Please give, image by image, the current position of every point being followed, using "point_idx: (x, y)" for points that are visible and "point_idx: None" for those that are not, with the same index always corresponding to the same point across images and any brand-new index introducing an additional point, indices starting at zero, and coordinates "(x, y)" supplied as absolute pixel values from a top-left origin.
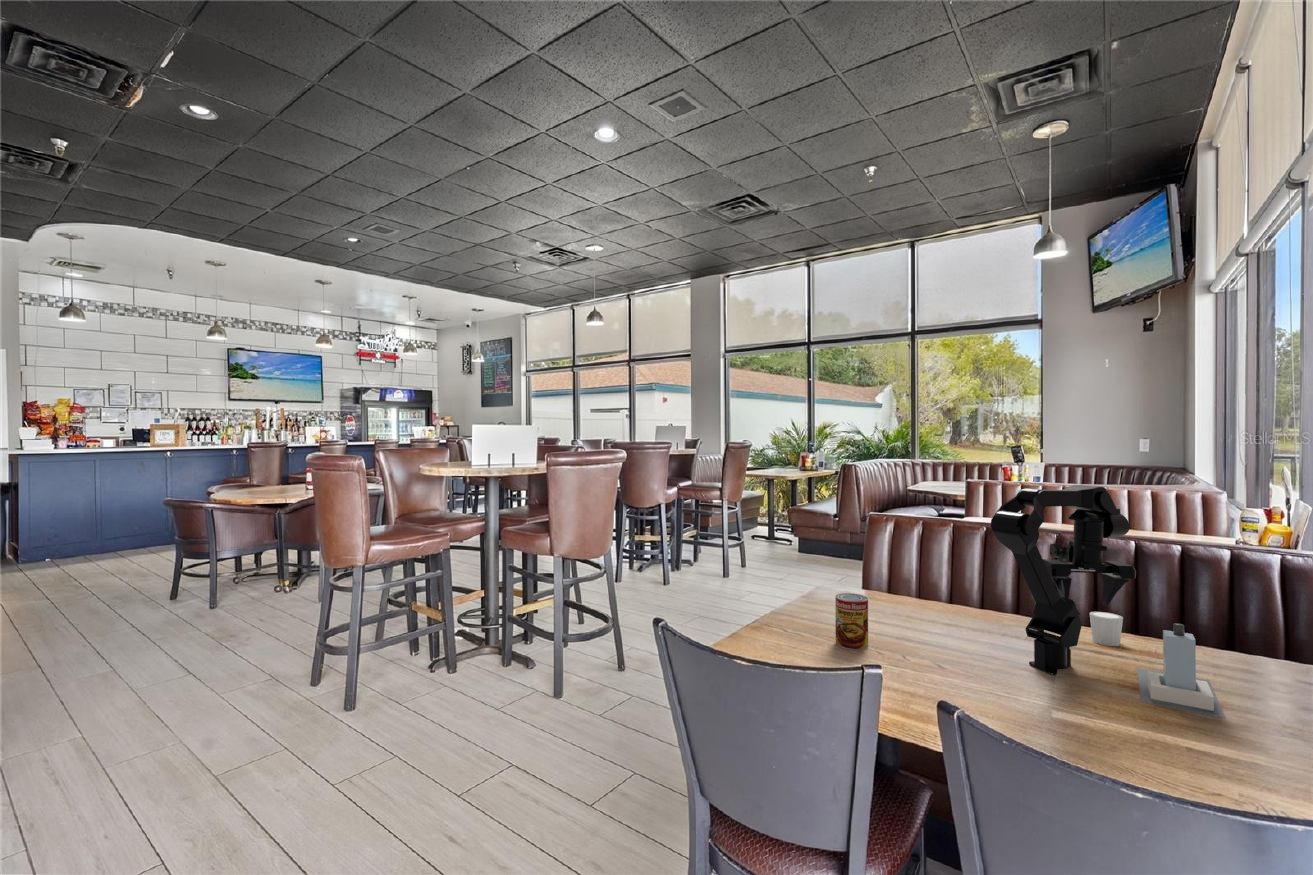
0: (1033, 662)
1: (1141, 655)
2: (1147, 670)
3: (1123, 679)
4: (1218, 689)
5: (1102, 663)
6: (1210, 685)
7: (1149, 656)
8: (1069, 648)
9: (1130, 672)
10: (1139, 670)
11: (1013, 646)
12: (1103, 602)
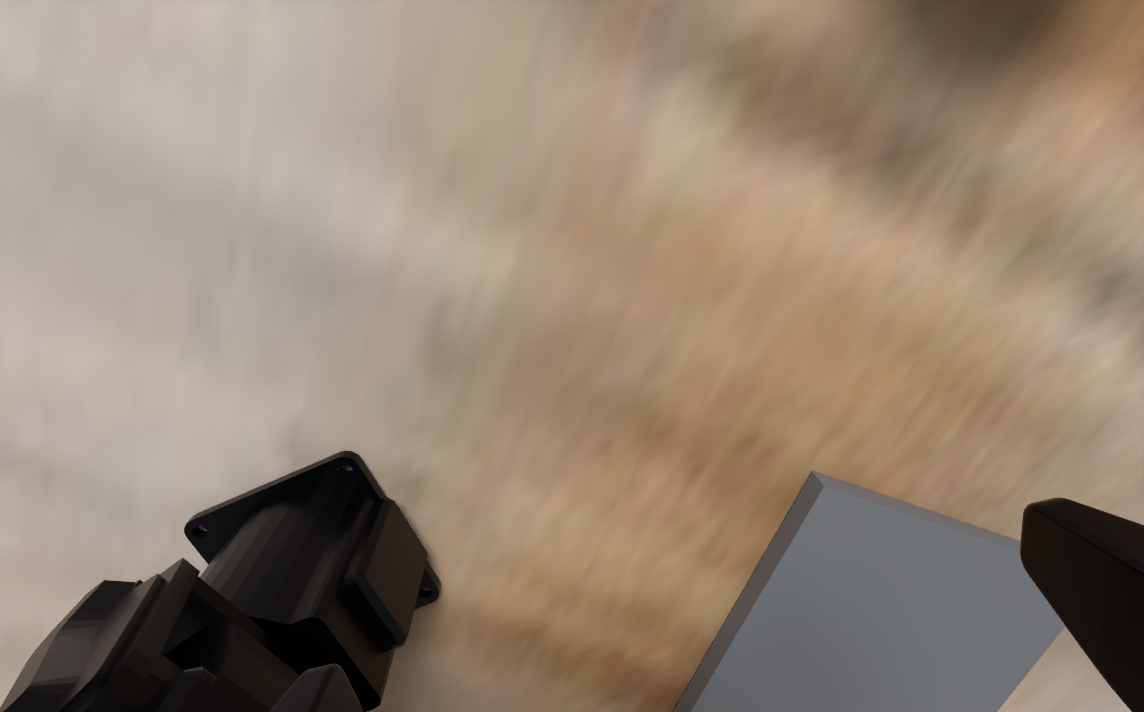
0: (211, 533)
1: (1086, 84)
2: (860, 521)
3: (671, 600)
4: None
5: (683, 363)
6: (1043, 648)
7: (1132, 95)
8: (390, 665)
9: (773, 483)
10: (810, 533)
11: (111, 115)
12: (1061, 547)
